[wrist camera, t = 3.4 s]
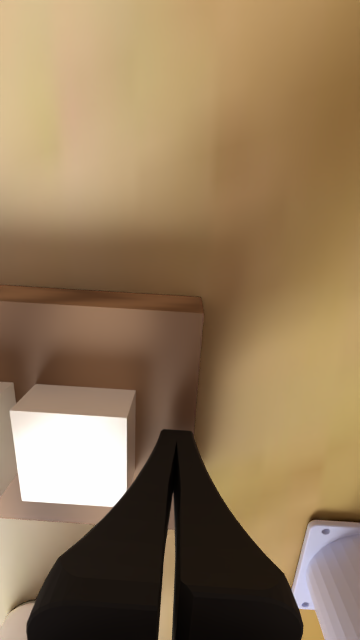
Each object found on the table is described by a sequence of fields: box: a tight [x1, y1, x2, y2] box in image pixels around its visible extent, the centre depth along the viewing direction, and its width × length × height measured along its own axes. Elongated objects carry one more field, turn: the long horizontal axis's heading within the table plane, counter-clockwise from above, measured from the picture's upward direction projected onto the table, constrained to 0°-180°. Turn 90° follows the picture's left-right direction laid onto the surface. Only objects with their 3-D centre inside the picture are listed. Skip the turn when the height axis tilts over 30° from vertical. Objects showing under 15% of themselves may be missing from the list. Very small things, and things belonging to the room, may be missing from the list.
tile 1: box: [9, 384, 136, 507], centre depth 13 cm, size 4×4×2 cm
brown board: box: [0, 285, 204, 530], centre depth 15 cm, size 14×12×3 cm
